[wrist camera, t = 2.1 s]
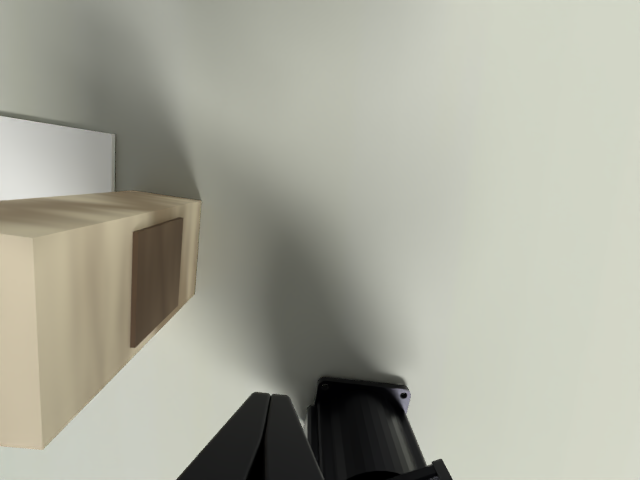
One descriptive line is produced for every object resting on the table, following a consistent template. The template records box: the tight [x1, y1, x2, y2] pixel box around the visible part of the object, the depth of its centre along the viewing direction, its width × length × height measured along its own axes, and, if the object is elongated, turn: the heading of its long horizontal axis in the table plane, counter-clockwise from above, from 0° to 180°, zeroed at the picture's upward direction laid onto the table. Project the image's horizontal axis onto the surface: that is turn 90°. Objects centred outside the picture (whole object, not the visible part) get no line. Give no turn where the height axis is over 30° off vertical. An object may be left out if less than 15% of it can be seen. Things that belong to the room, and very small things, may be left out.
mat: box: [0, 116, 115, 201], centre depth 17 cm, size 12×12×1 cm
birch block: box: [0, 190, 201, 450], centre depth 13 cm, size 4×6×11 cm
